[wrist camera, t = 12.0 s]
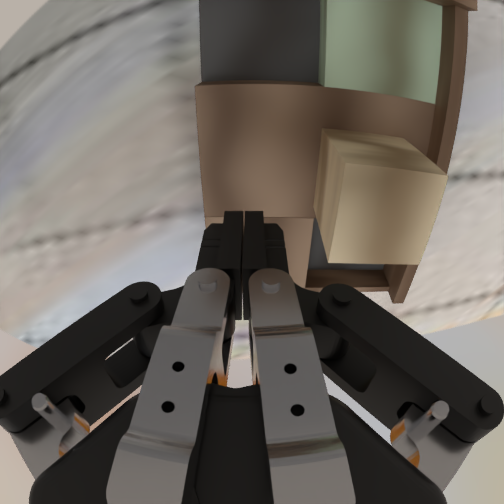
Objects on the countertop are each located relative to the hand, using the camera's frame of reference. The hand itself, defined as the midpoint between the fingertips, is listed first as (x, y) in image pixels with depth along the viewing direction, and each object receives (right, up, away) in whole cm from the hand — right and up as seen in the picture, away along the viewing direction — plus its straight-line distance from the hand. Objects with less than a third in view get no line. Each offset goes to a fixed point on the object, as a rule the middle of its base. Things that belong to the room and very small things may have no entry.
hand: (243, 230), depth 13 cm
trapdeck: (+5, +7, +8) cm, 12 cm away
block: (+7, +4, +7) cm, 11 cm away
